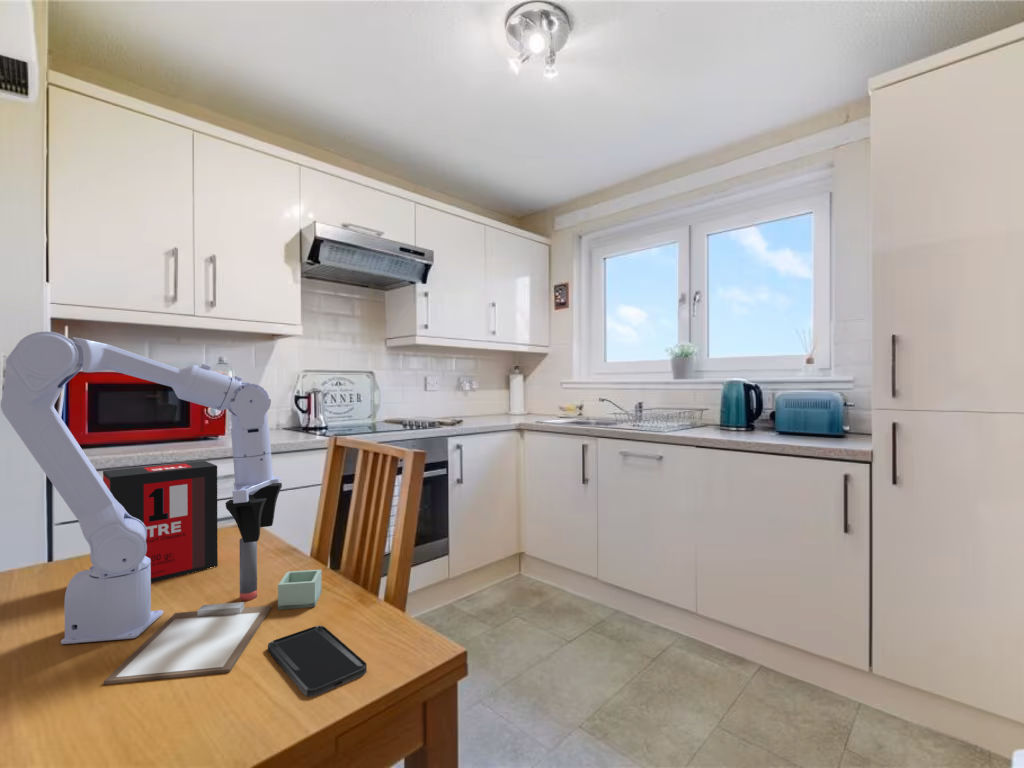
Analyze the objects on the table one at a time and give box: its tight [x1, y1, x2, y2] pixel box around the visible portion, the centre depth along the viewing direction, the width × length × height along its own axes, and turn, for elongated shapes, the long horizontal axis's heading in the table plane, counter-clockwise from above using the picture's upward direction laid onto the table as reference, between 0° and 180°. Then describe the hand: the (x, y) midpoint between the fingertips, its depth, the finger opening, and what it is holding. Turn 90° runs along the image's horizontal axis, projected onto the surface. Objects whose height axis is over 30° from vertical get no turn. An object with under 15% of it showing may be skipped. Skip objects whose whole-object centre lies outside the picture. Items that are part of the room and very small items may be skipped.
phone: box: [267, 625, 368, 698], centre depth 66 cm, size 8×1×15 cm
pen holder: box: [277, 568, 323, 610], centre depth 83 cm, size 6×6×4 cm
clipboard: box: [103, 601, 272, 685], centre depth 70 cm, size 14×18×1 cm
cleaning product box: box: [102, 460, 219, 584], centre depth 95 cm, size 16×9×20 cm, turn 136°
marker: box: [239, 537, 258, 602], centre depth 84 cm, size 3×3×10 cm
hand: (258, 533), depth 85 cm, fingers open, 7 cm apart
